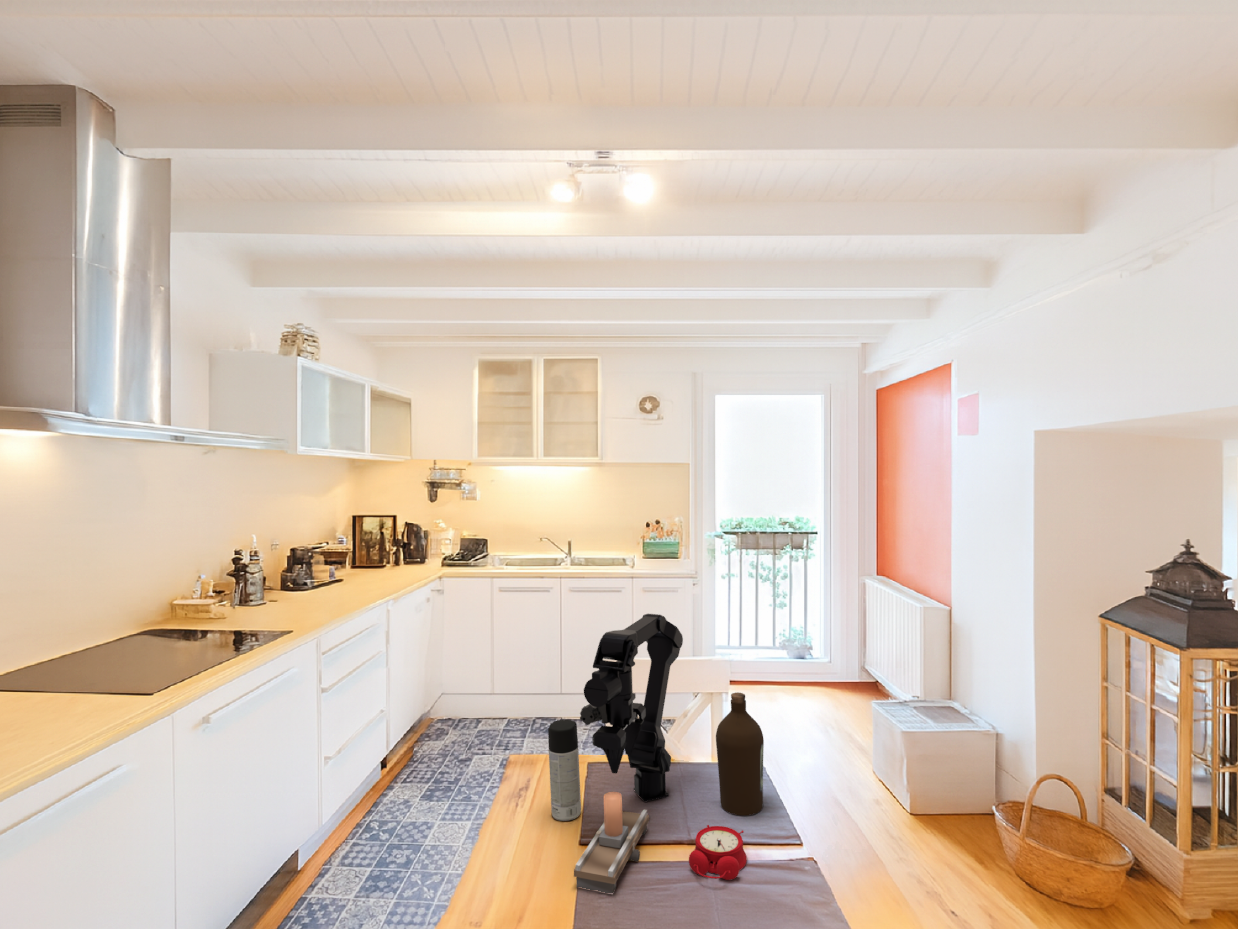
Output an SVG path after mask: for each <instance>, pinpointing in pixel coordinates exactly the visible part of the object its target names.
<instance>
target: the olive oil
mask: <svg viewBox="0 0 1238 929" xmlns="http://www.w3.org/2000/svg"><path fill="white" fill-rule="evenodd" d="M730 698H731V700H730V709H731V710H730V711H729V713H728V714H727V715H725V717H724V718H722V720H721V721H720V722H719V724H718V726H717V727H716V728H717V729H716V733H715V744H716V755H717V758H716V759H717V767H718V768H717V770H718V781H719V782H718V784H719V799H720V807H721V808H722V809H723V810H724V811H725V812H727V813H728V814H732V815H734V816H741V817H748V816H753V815H756V814H758V813H760V812H761V811H762V809H763V807H764V792H763V791H764V747H765V746H764V745H765V744H764V743H765V742H764V734H763V731H762V728H761V726H760V725H759V723H758V722H757V721H756V720H755V719H754V718H753V717H752V716H751V715H750V714H749V713H748V712H747V701H746V694H745V693H743V692H732V693H731V694H730Z"/></svg>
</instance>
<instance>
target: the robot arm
mask: <svg viewBox="0 0 1238 929" xmlns="http://www.w3.org/2000/svg"><path fill="white" fill-rule="evenodd" d="M683 640H684V638H683V634H682V632H681V631H680V630H679V628H678V626H676V625H674V624H673V623H671V622H670V621H668V620H667V618H666V617H665V616H664V615H662V614H659V613H658V614H656V613H646V614H643V615H642V617H641V618H639V619H638V620H636V621H635V622H634V623H631V624H630V625H629V626H627V627H626V628H624V629H617V630H609V631H606V632H605V633H604V634H603V635H602V636H601V638H600V640H599V642H598V646H597V649H596V653H595V656H594V661H593V665H592V668H593V669H598V670H594V671H593V672H592V673H591V678H590V679H589V680H587V681H586V683H585V684H584V688H583V696H584V699H585V700H586V702H587V703H588V704H587V705H586V706H585V705H584V706H583V707H582V708H581V711H580V712H579V714H580V716H579V720H580V721H582V723H584V724H585V726H589V725H591V724H593V723H596V722H600V721H601V723H602V724H606V725H601V726H600V727H599V728H598V729H596V731H595V732H594V733H593V734H592V736H591V737H592V746H594V747H596V748H597V749H601V750H603V752H604V754H605V756H606V759H607V762H608V765H609V768H610V772H611V774H618V771H619V768H620V766H621V761H622V758H623V756H624V752H625V755H626V756H627V758H628V763H629V767H630V768H631V769H635V774H634V775H633V780H634V781H633V782H634V783H633V784H634V787H633V791H634V790H635V791H634V792H635V794H637V796H638V795H639V796H640V797H641V798H642V799H643V800H642V799H641V798H640V797H639V798H640V799H641V800H642V801H643V802H644V801H647V802H651V801H655V800H658V798H659V799H662V797H663V798H666V797H669V796H670V792H668V791H667V786H666V773H668V772H670V768H671V764H672V756H671V755H670V753H669V752H668V751H667V750H666V739H665V736H664V733H663V731H662V727H661V726H662V720H663V714H664V708H665V702H666V695H667V691H668V683H669V676H670V671H671V666H672V664H673V663H674V662H675V661H676V660H677V659H678V657H679V654H680V652H681V648H682V646H683V643H684V641H683ZM645 642H646V651H647V652H648V653H647V654H648V656H649V658H650V666H649V671H648V678H647V685H646V689H645V690H646V691H645V696H644V702H643V703H641V702H640V703H638V702H633V701H634V700H635V699H636V696H637V695H636V692H635V693H634V692H633V691H634V690H633V668H632V667H634V666H635V665H636V661H634V660H635V657H636V656H637V655H638V654H639V653H638V651H639V650H638V649H639V648H638V647H640V646H641V645H642V644H644V643H645ZM607 724H609V725H607Z"/></svg>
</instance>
